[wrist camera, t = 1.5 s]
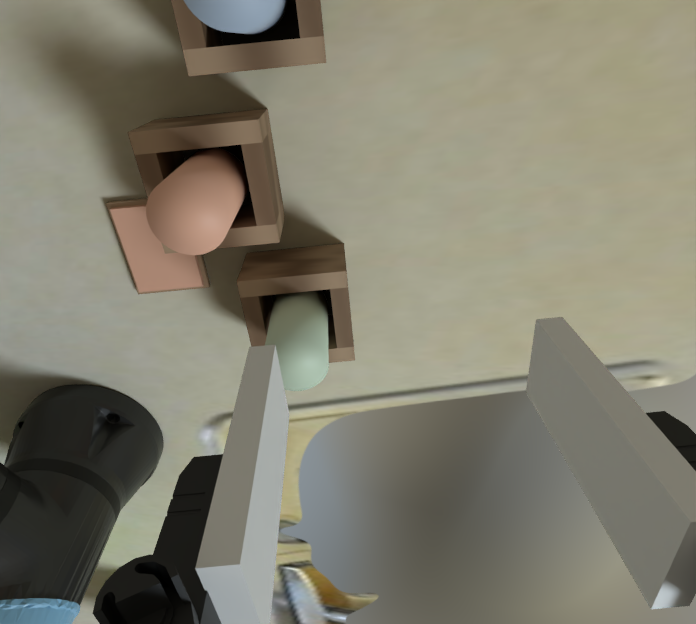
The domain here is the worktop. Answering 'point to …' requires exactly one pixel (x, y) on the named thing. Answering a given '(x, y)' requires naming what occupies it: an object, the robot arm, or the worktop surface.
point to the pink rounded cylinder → (198, 202)
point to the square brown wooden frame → (297, 290)
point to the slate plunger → (239, 14)
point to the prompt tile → (153, 253)
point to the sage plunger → (300, 338)
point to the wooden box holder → (249, 44)
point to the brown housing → (215, 131)
